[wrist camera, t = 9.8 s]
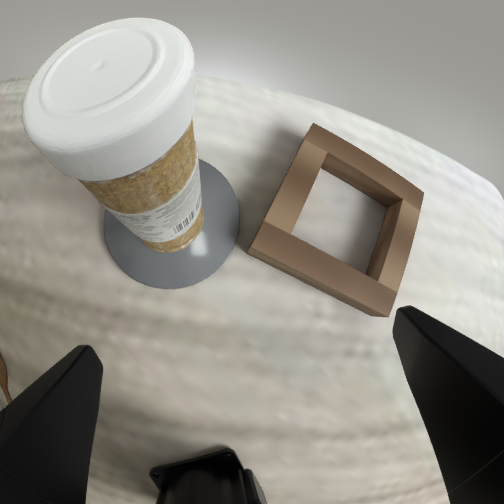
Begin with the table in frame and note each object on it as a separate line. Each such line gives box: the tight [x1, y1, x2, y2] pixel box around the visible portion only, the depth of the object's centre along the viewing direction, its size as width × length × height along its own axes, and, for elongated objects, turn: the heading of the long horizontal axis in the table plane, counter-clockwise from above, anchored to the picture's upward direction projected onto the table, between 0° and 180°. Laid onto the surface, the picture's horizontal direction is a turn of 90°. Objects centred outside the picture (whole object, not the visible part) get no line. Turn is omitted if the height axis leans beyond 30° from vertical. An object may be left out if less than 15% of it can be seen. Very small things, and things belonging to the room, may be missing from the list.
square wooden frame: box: [247, 123, 424, 317], centre depth 19 cm, size 10×10×2 cm
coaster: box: [104, 159, 240, 289], centre depth 18 cm, size 9×9×1 cm
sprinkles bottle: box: [22, 18, 204, 253], centre depth 11 cm, size 5×5×13 cm
